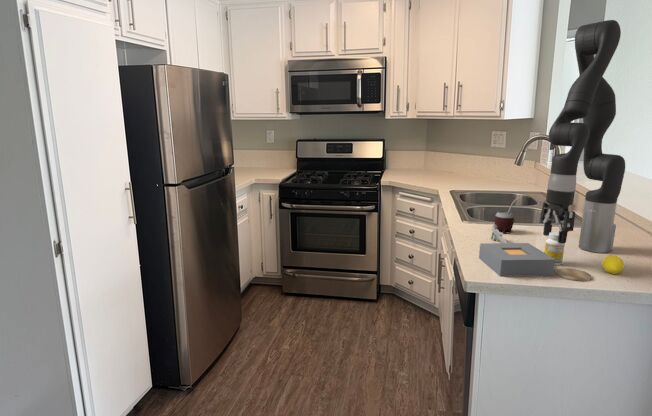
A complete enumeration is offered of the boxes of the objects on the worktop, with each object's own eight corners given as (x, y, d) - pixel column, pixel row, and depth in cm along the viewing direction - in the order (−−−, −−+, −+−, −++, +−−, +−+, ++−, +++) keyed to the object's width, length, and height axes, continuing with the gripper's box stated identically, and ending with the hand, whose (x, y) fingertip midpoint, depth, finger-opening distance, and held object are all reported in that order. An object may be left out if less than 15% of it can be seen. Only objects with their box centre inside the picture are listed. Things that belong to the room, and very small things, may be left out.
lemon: (624, 279, 126) (628, 262, 124) (603, 276, 127) (606, 260, 126) (618, 268, 132) (622, 252, 130) (598, 265, 134) (601, 250, 132)
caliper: (490, 239, 163) (491, 223, 161) (493, 239, 163) (494, 223, 161) (514, 257, 143) (516, 239, 141) (517, 257, 143) (519, 239, 141)
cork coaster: (578, 269, 131) (579, 267, 131) (598, 281, 123) (598, 279, 122) (550, 270, 131) (550, 268, 131) (567, 281, 122) (567, 279, 122)
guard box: (526, 257, 142) (528, 243, 141) (553, 275, 127) (555, 259, 125) (478, 257, 142) (480, 243, 140) (499, 276, 126) (501, 260, 125)
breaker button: (519, 254, 136) (520, 249, 136) (528, 260, 131) (528, 255, 130) (502, 254, 136) (502, 249, 136) (510, 260, 131) (510, 255, 130)
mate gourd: (492, 229, 176) (495, 193, 173) (512, 230, 174) (516, 194, 171) (495, 234, 169) (498, 196, 165) (516, 235, 167) (520, 197, 164)
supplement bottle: (558, 266, 134) (562, 237, 132) (540, 262, 138) (544, 233, 135) (564, 262, 137) (568, 233, 135) (547, 258, 141) (550, 230, 139)
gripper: (587, 192, 126) (579, 246, 129) (560, 184, 139) (553, 233, 143) (562, 192, 125) (554, 245, 129) (537, 184, 139) (531, 232, 143)
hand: (553, 239), depth 136 cm, fingers open, 8 cm apart
